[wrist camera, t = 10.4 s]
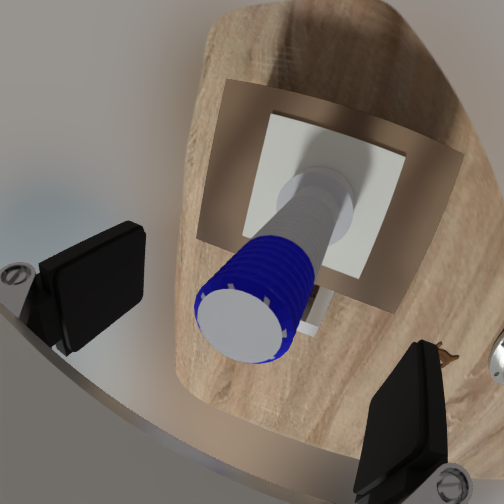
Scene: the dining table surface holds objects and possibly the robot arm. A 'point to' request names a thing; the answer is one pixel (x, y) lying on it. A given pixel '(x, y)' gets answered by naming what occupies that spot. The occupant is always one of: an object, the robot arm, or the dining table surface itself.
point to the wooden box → (351, 124)
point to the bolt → (276, 270)
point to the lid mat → (339, 159)
